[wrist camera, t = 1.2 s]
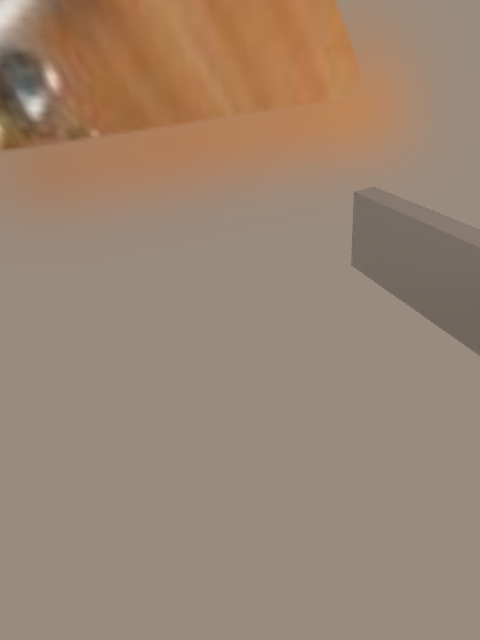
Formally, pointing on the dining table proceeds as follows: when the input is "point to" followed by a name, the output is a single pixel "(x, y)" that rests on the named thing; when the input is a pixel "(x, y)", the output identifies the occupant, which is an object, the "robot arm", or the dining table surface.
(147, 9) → the dining table surface
